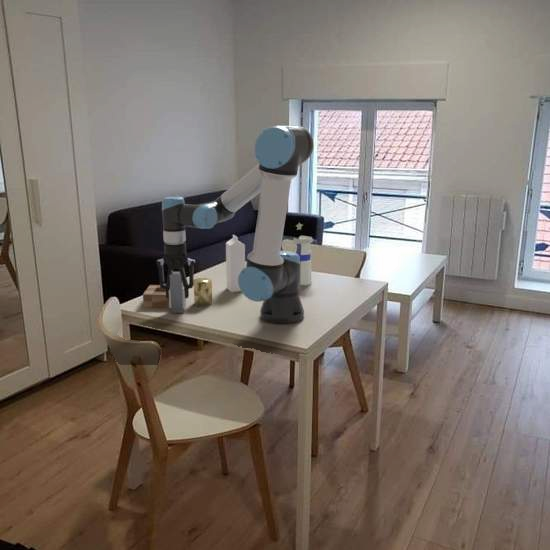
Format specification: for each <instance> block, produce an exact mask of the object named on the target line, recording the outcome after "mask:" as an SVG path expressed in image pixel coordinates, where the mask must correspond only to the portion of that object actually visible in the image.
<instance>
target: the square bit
mask: <svg viewBox="0 0 550 550" xmlns="http://www.w3.org/2000/svg"><path fill="white" fill-rule="evenodd" d="M183 288H184V286H183V282H182V274H180V271H173V272H172V274H170V291H171V308H170V309H171V313H172V314H183V313H184V312H185V309H186V307H185V308H183V296H182V290H183Z"/></svg>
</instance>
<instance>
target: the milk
mask: <svg viewBox="0 0 550 550" xmlns="http://www.w3.org/2000/svg"><path fill="white" fill-rule="evenodd" d="M238 239H239V238H238V236H237V235H235V234H232V238H230V239H229V240H228V241H226V242H225V263H226V264H225V265H226V267H225V268H226V272H225V273H226V289H227V290H228V291H229V292H230V293H238V292H242V291H241V290H240V288H239V285H238V277H239V274H240V272H241V271H242V270H243V269H244V268H246V255H245V254H246V245H245V243H243V242H241V241H239V240H238Z"/></svg>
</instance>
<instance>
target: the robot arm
mask: <svg viewBox="0 0 550 550" xmlns="http://www.w3.org/2000/svg"><path fill="white" fill-rule="evenodd" d="M313 152H314V139H313V137H312V134H311V133H310V132H309V131H308V129H306V128H305V127H303V126H301V125H273V126H269V127H267V128H266V129H263V131H262V132H261V131H260V133H259V134H258V136H257V137H256V140H255V143H254V156H255V157H256V160H257V161H258V164H256V166H254V167H253V168H252V169H251V170H249V171H248V172H246V174H245V175H244V176H242V177H241V178H240V179H238V181H236V182H235V183H234V184H232V185H231V187H229V188H228V189H227V190H226V191H224V192H223V193H222V194H221V195H220V196H219V197H217V198H216V199H215V200H214V201H213V200H212V201H210V202H205V203H199V204H191V203H190V204H188V203H186V202H185V198H184V197H181V196H167V197H163V198H162V201H161V215H162V216H161V217H162V226H163V227H162V228H163V229H162V231H163V232H162V234H163V235H162V236H163V243H164V244H163V250H164V255H163V258H161V259H159V258H158V259H157V261H156V262H155V264H156V265H157V269H158V276H159V277H158V278H159V285H160V288H164V289H165V290H166V298H169V306H170V308H169V309H171V291H170V274H172V272H174V271H173V270H175V269H176V270H178V272H180V274H182V282H183V286H184V288H183V290H182V296H183V308H185V309H186V307H187V299H189V297H190V296H189V295H190V294H189V293H190V292H189V289H192V288H194V280H195V278H194V274H195V273H194V272H195V271H194V265H195V264H196V259H191V258H190V257H189V256H188V255H187V243H186V241H187V238H186V237H187V235H186V227H188V228H195V229H201V230H204V229H209V230H210V229H212V228H214V227H215V225H216V224H219V223H222V222H227V221H229V220H232V218H233V217H235V214H236V212H237V211H238V210H240V209H241V208H242V207H244V206H245V205H246V204H247V203H249V202H250V201H251V200H252V199H254V198H255V197H256V196H258V195H259V194H260V195H259V203H258V210H257V211H258V212H257V218H256V225H255V226H256V227H255V232H254V239H253V240H254V241H253V248H252V251H251V252H250V253H248V254H247V257H246V262H245V268H244V269H243V270H242V271H241V272H240V274H239V277H238V285H239V288H240V290H241V291H240V292H241V293H242V294H243V296H245V298H247V299H248V300H249V301H253V302H256V303H257V302H258V303H259V302H262V305H261V307H260V311H259V312H260V313H259V315H260V316H259V317H260V319H261V320H263V321H265V322H266V323H267V322H268V323H272V324H280V325H282V324H283V325H286V324H292V323H293V324H294V323H297V322H300V321H302V320H303V319H304V318H305V310H304V307H303V304H302V303H303V302H302V301H301V298H300V285H299V280H300V257H299V255H298V254H297V253H295V251H294V252H293V251H288V250H287V251H286V250H281V249H282V243H283V237H284V229H285V224H286V223H285V222H286V218H287V217H286V215H287V210H288V204H289V197H290V190H291V184H292V180H293V179H295V178H296V177H297V176H298V170H299V167H300V166H301V165H303V164H304V163H305V162H306V161H307V160H309V158H310V157H311V155H312V154H313ZM186 263H187V265H188V266H189V267H188V273H189V274H188V278H187V275H186V271H185V264H186ZM164 264H166V266H167V267H168V268H167V275H166V282H165V274H164V273H165V272H164ZM188 279H189V281H188Z"/></svg>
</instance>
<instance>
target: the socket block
mask: <svg viewBox="0 0 550 550" xmlns="http://www.w3.org/2000/svg"><path fill="white" fill-rule="evenodd" d="M142 299H143V300H142V302H143V305H142V306H143V308H144V309H146V308H152V309H153V308H154V309H155V308H156V309H158V308H160V309H161V308H162V309H166V308H167V309H171V308H170V306H169V298H166V290H165V289H164V288H160V284H157V285H156V284H149V285H148V287H147V288H146V290H144V292H143V294H142Z"/></svg>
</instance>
